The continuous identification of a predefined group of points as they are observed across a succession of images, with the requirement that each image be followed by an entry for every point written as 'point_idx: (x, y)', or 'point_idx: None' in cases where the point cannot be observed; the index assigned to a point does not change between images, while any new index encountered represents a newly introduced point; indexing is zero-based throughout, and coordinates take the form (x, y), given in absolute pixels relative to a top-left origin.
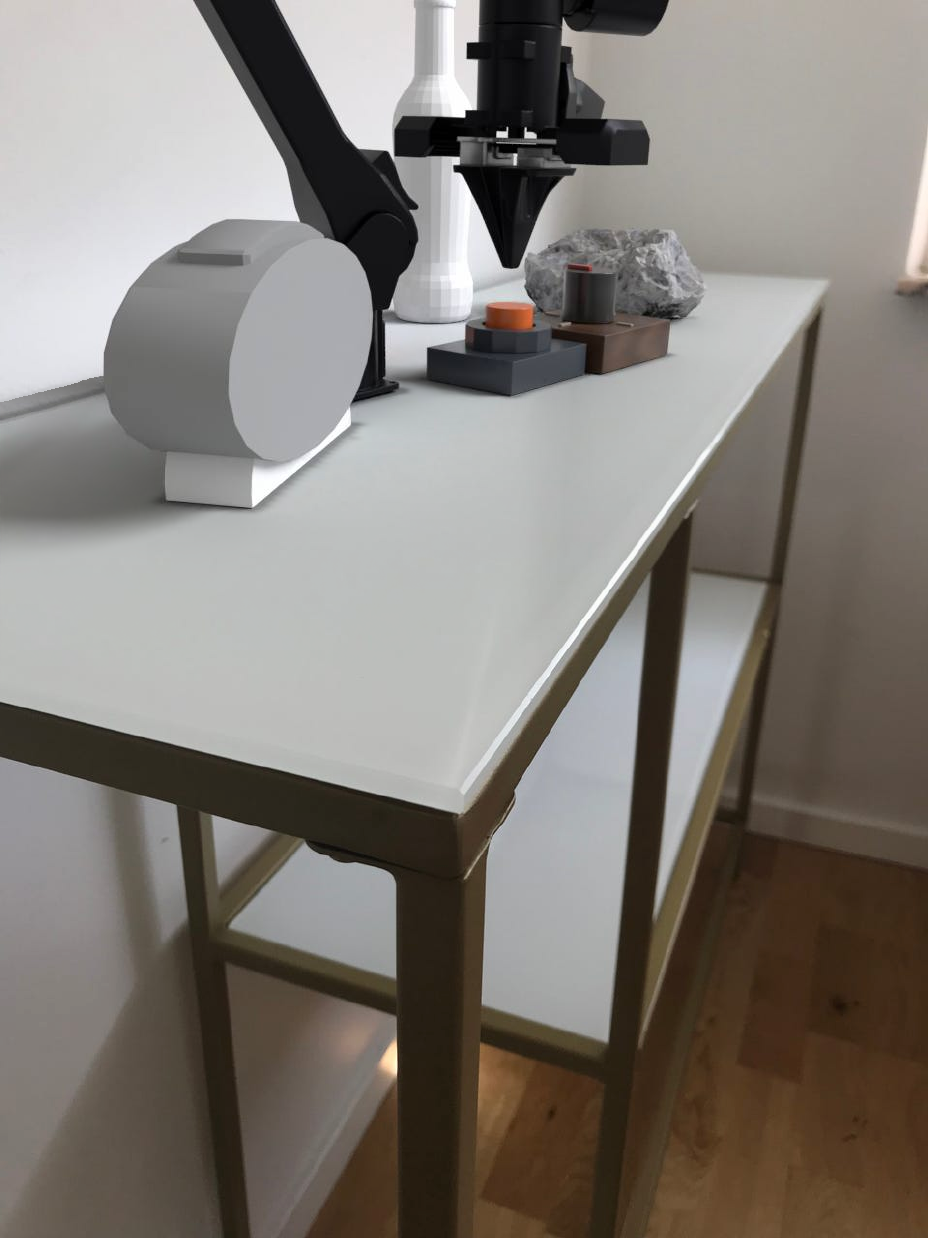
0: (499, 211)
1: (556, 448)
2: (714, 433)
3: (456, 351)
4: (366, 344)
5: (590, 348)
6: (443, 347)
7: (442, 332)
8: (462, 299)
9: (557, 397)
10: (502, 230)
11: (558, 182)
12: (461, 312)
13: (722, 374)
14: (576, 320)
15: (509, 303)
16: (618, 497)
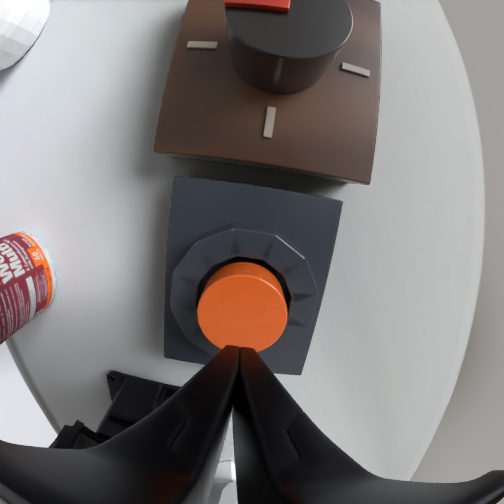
0: (211, 483)
1: (374, 433)
2: (465, 346)
3: (208, 361)
4: (228, 493)
5: (338, 179)
6: (180, 348)
7: (46, 78)
8: (35, 13)
9: (341, 329)
10: (223, 441)
11: (422, 483)
12: (43, 18)
13: (452, 110)
14: (279, 92)
15: (229, 298)
16: (409, 454)
